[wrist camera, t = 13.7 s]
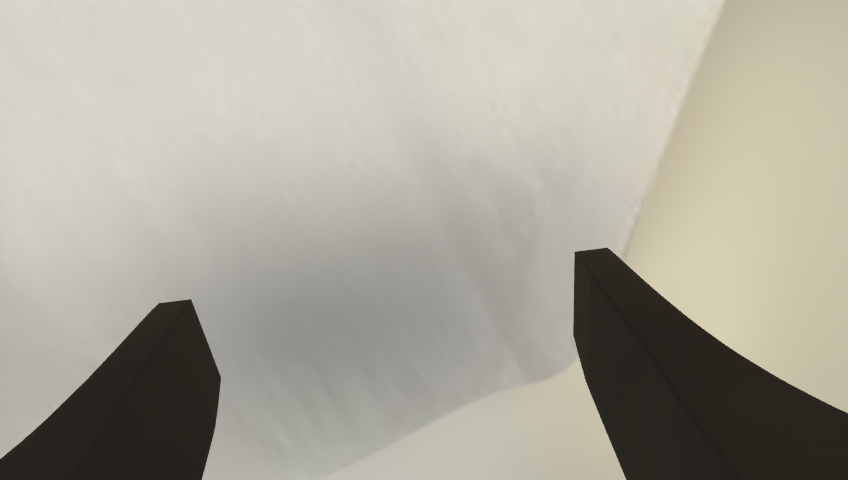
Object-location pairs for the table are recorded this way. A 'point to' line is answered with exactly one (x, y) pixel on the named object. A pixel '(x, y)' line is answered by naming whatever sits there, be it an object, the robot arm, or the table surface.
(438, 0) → the table surface
